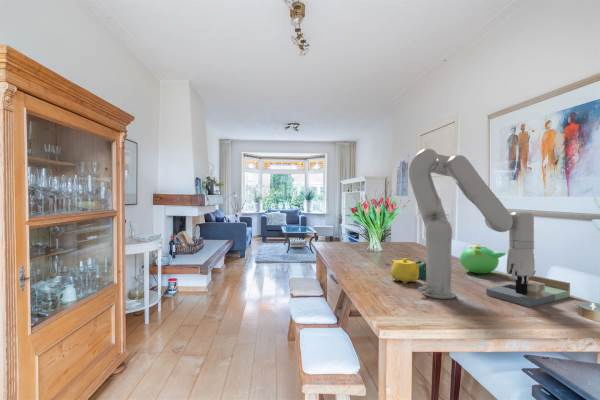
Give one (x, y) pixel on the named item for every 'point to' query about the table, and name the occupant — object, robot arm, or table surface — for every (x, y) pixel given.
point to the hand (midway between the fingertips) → (521, 293)
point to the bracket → (421, 269)
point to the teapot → (405, 270)
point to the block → (535, 289)
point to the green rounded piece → (480, 259)
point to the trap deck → (552, 293)
